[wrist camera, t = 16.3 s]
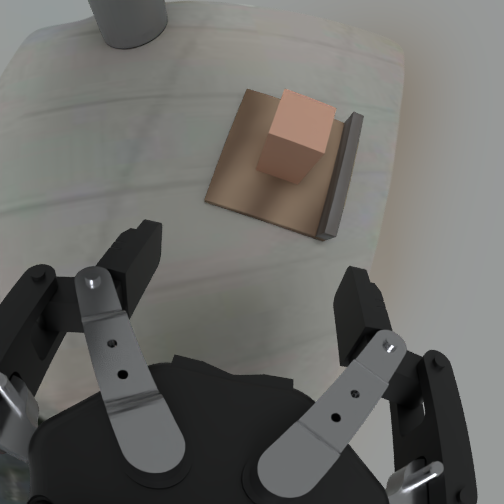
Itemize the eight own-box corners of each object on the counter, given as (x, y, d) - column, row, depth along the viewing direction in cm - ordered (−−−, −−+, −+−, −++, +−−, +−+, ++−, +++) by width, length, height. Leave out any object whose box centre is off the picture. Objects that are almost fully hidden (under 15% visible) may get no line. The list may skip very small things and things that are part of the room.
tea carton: (255, 169, 32) (268, 132, 23) (268, 132, 33) (284, 88, 24) (299, 185, 33) (326, 154, 24) (310, 147, 33) (338, 109, 24)
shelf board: (204, 202, 33) (202, 192, 29) (246, 93, 34) (249, 74, 30) (324, 241, 34) (338, 237, 30) (351, 131, 35) (365, 116, 31)
